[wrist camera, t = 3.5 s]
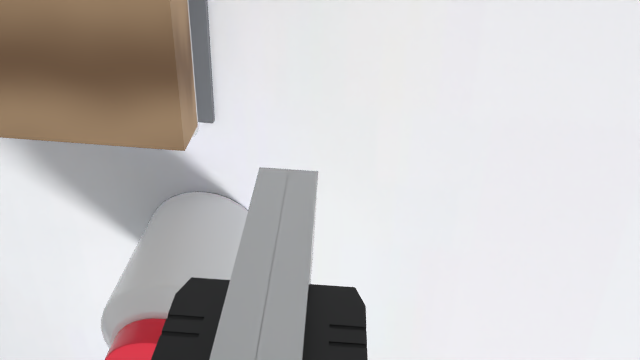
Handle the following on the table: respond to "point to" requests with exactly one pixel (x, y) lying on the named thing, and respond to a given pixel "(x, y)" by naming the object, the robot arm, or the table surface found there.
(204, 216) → the pill bottle
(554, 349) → the table surface
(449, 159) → the table surface
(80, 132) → the slab
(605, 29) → the table surface
